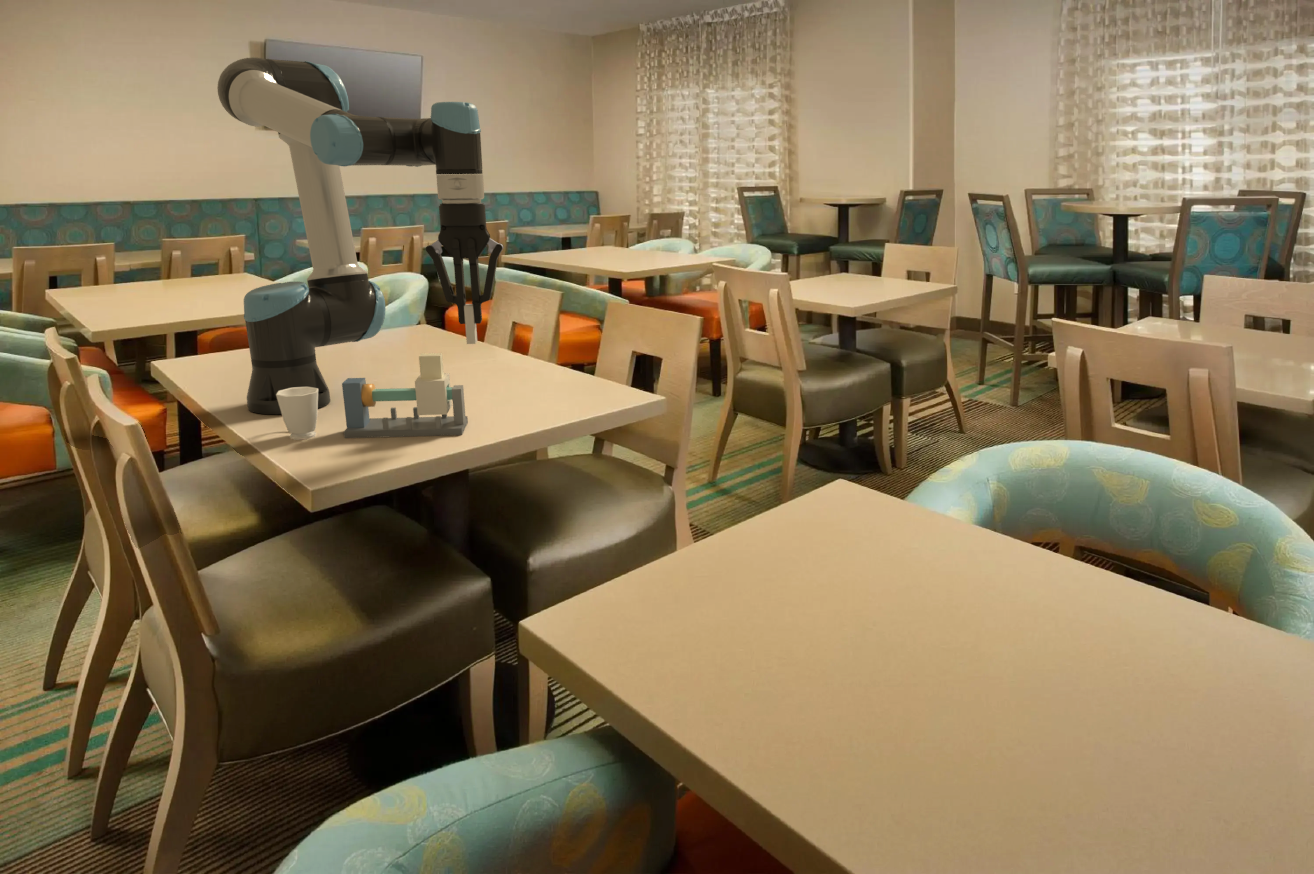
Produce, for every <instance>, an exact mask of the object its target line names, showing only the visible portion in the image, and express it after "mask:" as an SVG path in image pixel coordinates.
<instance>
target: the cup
mask: <svg viewBox="0 0 1314 874" xmlns="http://www.w3.org/2000/svg"><path fill="white" fill-rule="evenodd" d="M276 397H277V400H278V403H279V406H280V410H281V413H282V414H281V416H282V420H283V422H284V424H285V427H286V429H287V432H288V433H289V434H290V435H289V439H291V440H295V441H300V440H308V439H312V438H315V437H316V436H317V431H315V430H316V428H317V422H318V421H317V420H318V413H319V412H318V409H319V408H318V388H313V387H292V388H288V389H284V390H280V391H278V392H277V394H276Z"/></svg>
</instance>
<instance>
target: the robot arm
mask: <svg viewBox="0 0 1314 874" xmlns="http://www.w3.org/2000/svg"><path fill="white" fill-rule="evenodd" d="M217 97H218V99H219V101H220V104H221V106H222V107H223V108H224V109H223V110H225V112H227V113H228V114H229V115H230V116H231V117H232V118H234V119H235V120H237V121H238V122H241V123H244V124H246V125H248V126H250V127H256V128H257V127H259V128H260V127H267V128H268V129H270V130H273V131H275V132H277V135H278V138H279V139H280V140H281V141H282V142H284V143H285V144H286V145H287V146H288V147H289V152H290V157H291V158H290V159H291V162H292V168H293V172H294V178H295V182H296V183H295V184H296V188H297V193H298V194H297V195H298V199H299V204H300V209H301V214H302V219H303V224H304V230H305V235H306V240H307V244H308V250H309V255H310V260H311V265H312V272H311V273H309V274H310V275H309V276H308V277H307V278H306V280H307V283H306V282H304V281H285V282H277V283H272V284H266V285H261V286H259V287H256V288H253V289H252V290H250V291H248V292H246V294H245V295H244V298H243V313H244V314H243V319H244V321H245V322H244V323H245V329H246V334H247V340H248V341H247V342H248V346H249V347H248V348H249V353H250V360H251V368H252V369H251V374H250V380H249V383H248V389H247V395H246V404H247V410H248V411H250V412H253V413H256V414H261V415H263V414H264V415H282V413H281V410H280V406H279V403H278V400H277V397H276V394H277V392H278V391H280V390H284V389H288V388H292V387H313V388H318V409H319V408H323V407H325V406H327V405H328V404H330V402H331V394H330V389H329V387H328V385H327V383H326V381H325V379H324V376H323V375H322V372H321V371H320V368H319V366H318V364H317V363H318V362H317V357H316V356H317V354H316V348H321V347H327V346H333V345H340V344H347V343H356V342H360V341H363V340H367V339H371V338H373V337H375V336H376V335H377V334H378V333H380V332H381V331H380V330H381V329H382V326H383V325H384V323H385V318H386V310H387V309H386V298H385V296H384V293H383V291H382V290H381V287H379V285H378V284H377V283H376V282H373V281H371V280H370V279H369V275H368V271H366V270H365V269H364V268H362V267H361V266H360V265H359V263H358V259H357V253H356V248H355V242H354V237H353V232H352V226H351V220H350V214H349V209H348V205H347V199H346V195H345V188H344V184H343V183H344V182H343V177H342V171H341V167H350V166H406V167H417V168H418V167H421V166H434V165H435V175H436V188H437V199H438V200H440V201H441V203H439V205H438V213H439V225H440V230H439V234H438V236H437V239H436V241H434V242H433V243H431V244H430V245H427V246H426V247H425V251H426V253H427V254H428V256H429V257H430V259H432V262H433V264H434V267H435V271H436V273H437V276H438V279H439V282H440V285H441V289H442V292H443V295H444V298H445V300H446V302H447V303H452V304H454V305H456V307H457V314H458V315H457V317H458V323H459V324H460V325H465V337H466V339H465V340H466V345H476V344H477V343H478V332H477V330H478V329H477V324H481V323H482V321H483V315H482V304H483V303H486V302H489V301H490V300H491V298H492V295H493V288H494V284H495V277H496V272H497V271H496V270H497V265H498V259H499V257H500V255H501V253H502V252H503V250H504V245H503V243H501V242H499V243H498V241H495V240H494V239H493V238H491V234H490V233H489V230H488V229H487V216H486V214H487V213H486V205H485V204H484V203H483V202H482V200H484V199H485V187H484V186H485V184H484V174H483V173H484V172H483V161H482V160H483V157H482V138H481V132H482V128H481V126H480V118H479V117H480V116H479V109H478V108H477V105H475V104H474V103H472V102H467V101H466V102H465V101H440V102H439V101H438V102H435V103H433V104H432V105H431V108H430V109H431V110H430V111H431V112H430V117H426V118H425V117H424V118H407V117H385V116H384V117H382V116H365V115H356V114H352V113H349V112H348V111H350V103H349V96H348V93H347V89H346V87H345V84H344V82H343V81H342V79H341V77H340V75H339V74H338V73H337V72H335V71H334V69H333V68H331V67H329V66H328V65H325V64H319V63H315V62H311V61H307V60H306V61H298V60H286V59H285V60H283V59H270V58H262V57H256V56H255V57H254V56H253V57H252V56H251V57H245V58H240V59H237V60H235V61H233V62H232V63H230V64H228V65H227V66H226V67H225V68H224V69H223V70H222V72H221V73H220V75H219V78H218V81H217ZM487 246H488V249H487V250H488V253H490V255H489V259H488V264H487V265H488V266H487V271H486V277H485V282H484V288H483V294H481V283H480V281H481V280H480V270H479V269H480V268H479V267H480V266H479V262H480V261H479V257H480V256H481V254H482V253H483V252H484V250H485V248H487ZM443 248H444V249H445V251H446V252H447V253H448V254H449V256H450V257H451V258H452V260H453V261H452V262H453V269H454V281H455V292H454V289H453V286H452V283H451V280H450V277H449V274H448V270H447V268H446V265H445V264H446V263H445V262H444V259H443V256H442V253H443ZM464 259H468V265H469V275H470V289H471V303H466V302H467V299H466V285H465V284H466V283H465V270H464V268H465V267H464Z"/></svg>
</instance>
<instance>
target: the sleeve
mask: <svg viewBox="0 0 1314 874" xmlns="http://www.w3.org/2000/svg"><path fill="white" fill-rule="evenodd" d="M443 360H444V359H443V353H442V352H437V353H436V352H434V353H433V352H432V353H431V352H429V353H425V352H424V353H423V352H422V353H420V354H419V356H418V363H419V376H418V377H417V378H416V379H415V380H414V386H415V387H414V388H415V390H416V400H415V401H416V407H417V413H418V415H419V416H432V415H434V416H435V415H436V416H442V415H443V414H447V415H448V413H449V411H450V410H451V408H452V407H453V400H447V390H446V387H451V378H450V377H451V375H450V373H449V372H446V373H445V372H444V361H443Z"/></svg>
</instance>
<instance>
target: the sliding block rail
mask: <svg viewBox="0 0 1314 874" xmlns="http://www.w3.org/2000/svg"><path fill="white" fill-rule="evenodd" d="M366 381H367V380H366V377H348V378H346V379H345V380H344V381H343V382H341V386H342V397H343V398H342V399H343V405H344V415H345V423H346V429H344V431H343V437H344V439H354V438H355V439H356V438H357V439H358V438H359V439H361V438H392V437H393V438H395V437H396V438H397V437H400V438H401V437H402V438H403V437H428V436H429V437H430V436H431V437H432V436H433V437H434V436H462V435H463V434H464V432H465V431H466V427H467V425H468V422H469V419H468V416H467V415H466V406H465V392H464V391H465V390H464V389H465V388H464V385H463V384H455V385H453V386H452V387H451V386H450V387H446V390H447V400H451V401H452V410H453V412H452V413H453V415H452V416H450V415H449V416H448V413H447V414H443V415H436V416H420V415H418V413H417V406H414V407H412V412H413V417H412V416H406V417H398V415H397V407H396V406H395V407H394V406H393V407H390V417H380V418H379V417H377V418H375V417H374V418H373V417H372V418H370V411H369V410H370V409H369V407H371V408H372V407H374V408H375V406H376V404H377V402H406V401H408V402H409V401H416V390H415V387H409V388H408V387H405V388H402V387H401V388H397V387H396V388H376V385H375V384H374V383H367V382H366Z"/></svg>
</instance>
